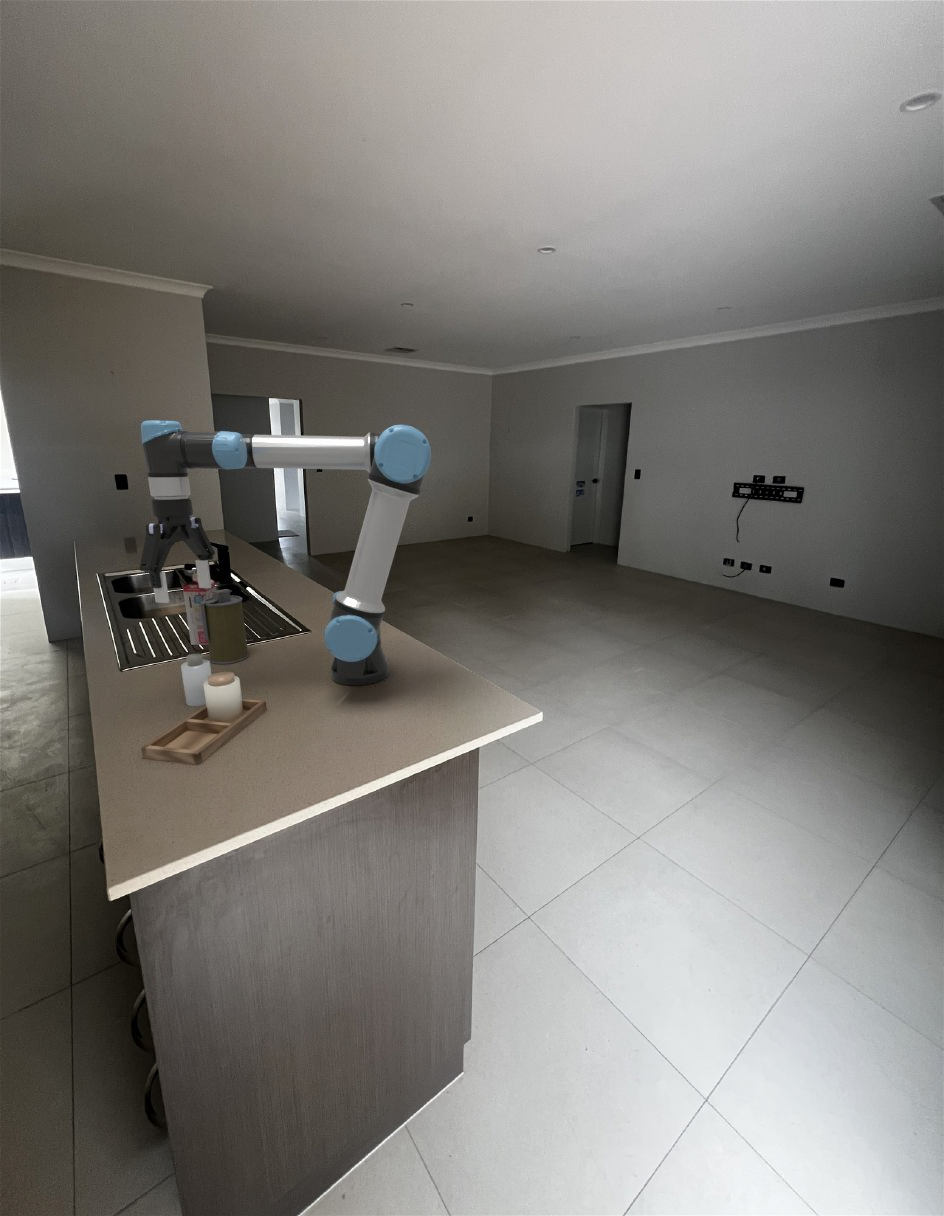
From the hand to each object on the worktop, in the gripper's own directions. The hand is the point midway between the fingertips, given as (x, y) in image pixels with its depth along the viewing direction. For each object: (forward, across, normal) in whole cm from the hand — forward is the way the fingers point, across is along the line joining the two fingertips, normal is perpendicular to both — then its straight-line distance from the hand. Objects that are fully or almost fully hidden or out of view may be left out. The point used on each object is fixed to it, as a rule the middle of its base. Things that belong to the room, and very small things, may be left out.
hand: (185, 594), depth 120 cm
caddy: (+26, +13, +12) cm, 32 cm away
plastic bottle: (+26, 0, 0) cm, 27 cm away
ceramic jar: (+26, +8, +12) cm, 29 cm away
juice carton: (+27, -40, -28) cm, 56 cm away
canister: (+27, -28, -12) cm, 40 cm away
